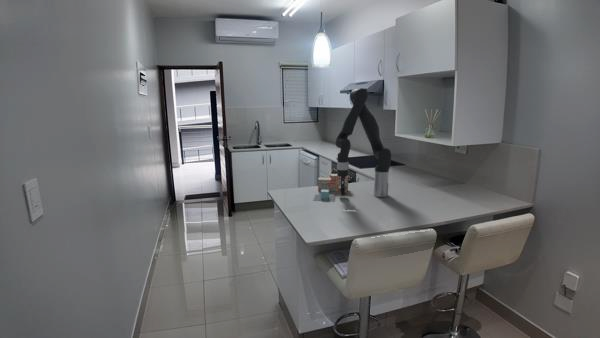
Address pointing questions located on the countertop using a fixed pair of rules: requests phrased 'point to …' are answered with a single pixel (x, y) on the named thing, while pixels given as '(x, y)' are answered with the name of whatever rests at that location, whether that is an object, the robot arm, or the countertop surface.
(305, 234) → the countertop surface
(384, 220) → the countertop surface
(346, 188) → the walnut cube
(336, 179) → the stack of blocks
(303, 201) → the countertop surface
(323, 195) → the teal cube
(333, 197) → the build mat
